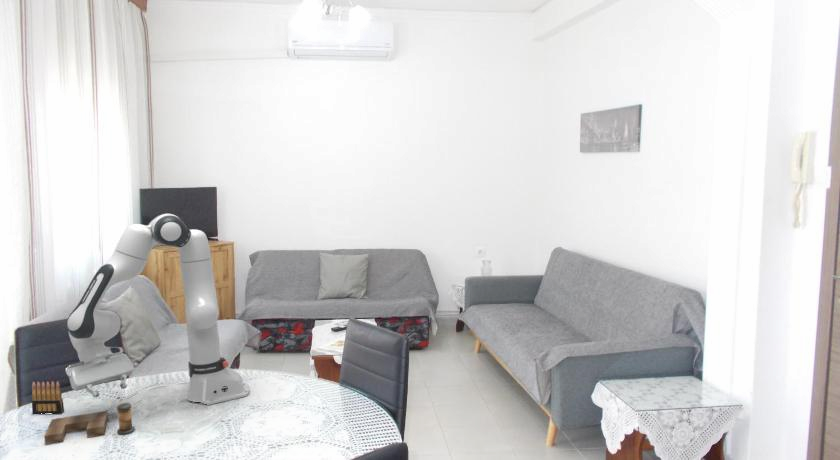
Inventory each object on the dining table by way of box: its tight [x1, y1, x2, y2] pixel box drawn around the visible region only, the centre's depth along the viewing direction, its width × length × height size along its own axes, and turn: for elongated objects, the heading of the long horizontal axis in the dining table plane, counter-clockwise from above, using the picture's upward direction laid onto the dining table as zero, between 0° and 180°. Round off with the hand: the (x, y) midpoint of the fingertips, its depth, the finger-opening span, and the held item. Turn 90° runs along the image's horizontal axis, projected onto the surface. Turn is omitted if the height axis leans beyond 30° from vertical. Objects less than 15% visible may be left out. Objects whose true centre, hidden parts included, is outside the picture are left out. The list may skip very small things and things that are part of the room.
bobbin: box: [116, 402, 136, 436], centre depth 208 cm, size 5×5×9 cm
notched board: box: [44, 410, 109, 446], centre depth 210 cm, size 17×14×3 cm
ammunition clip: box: [31, 380, 65, 415], centre depth 225 cm, size 11×2×12 cm, turn 88°
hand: (110, 391), depth 213 cm, fingers open, 8 cm apart
